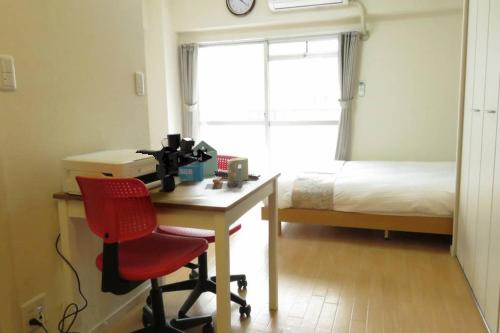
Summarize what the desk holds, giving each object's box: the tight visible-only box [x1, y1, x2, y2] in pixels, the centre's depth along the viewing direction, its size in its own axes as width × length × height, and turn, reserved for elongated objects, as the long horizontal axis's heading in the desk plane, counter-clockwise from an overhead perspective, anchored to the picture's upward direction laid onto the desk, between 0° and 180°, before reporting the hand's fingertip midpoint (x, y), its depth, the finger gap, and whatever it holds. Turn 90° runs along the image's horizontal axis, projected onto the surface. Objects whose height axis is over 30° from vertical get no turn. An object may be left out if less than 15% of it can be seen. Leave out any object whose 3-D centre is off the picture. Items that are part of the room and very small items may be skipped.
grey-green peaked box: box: [192, 140, 219, 178], centre depth 216 cm, size 16×8×20 cm, turn 80°
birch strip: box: [226, 159, 237, 183], centre depth 182 cm, size 4×2×12 cm, turn 90°
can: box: [229, 157, 249, 182], centre depth 197 cm, size 9×9×12 cm
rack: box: [204, 164, 244, 190], centre depth 182 cm, size 18×12×10 cm
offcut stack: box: [212, 176, 224, 189], centre depth 183 cm, size 4×10×4 cm, turn 0°
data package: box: [178, 160, 205, 183], centre depth 199 cm, size 12×4×12 cm, turn 76°
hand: (204, 158), depth 165 cm, fingers open, 9 cm apart
